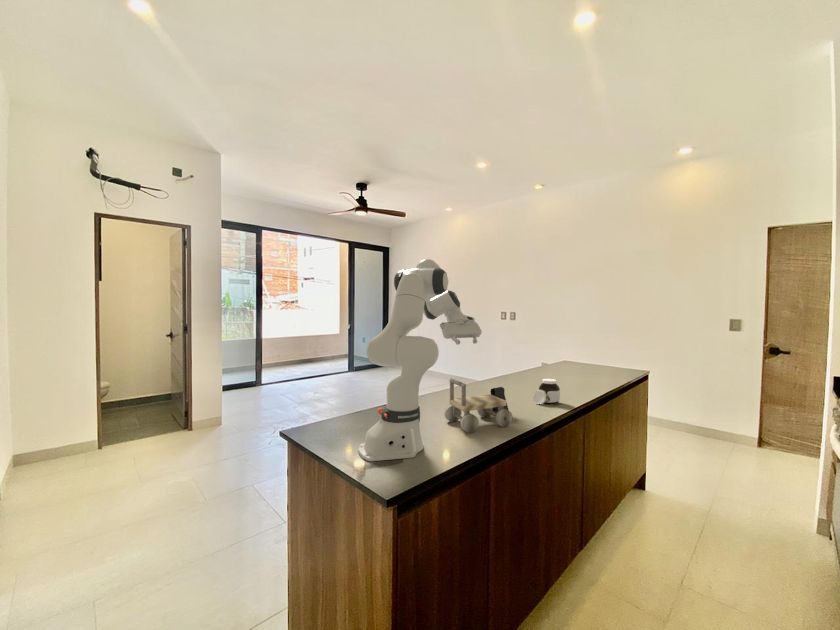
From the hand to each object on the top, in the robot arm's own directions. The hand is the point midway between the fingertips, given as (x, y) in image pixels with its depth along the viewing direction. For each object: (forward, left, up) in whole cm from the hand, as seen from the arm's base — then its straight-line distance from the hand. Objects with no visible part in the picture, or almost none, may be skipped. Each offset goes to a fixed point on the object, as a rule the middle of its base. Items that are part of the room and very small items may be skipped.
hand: (467, 343), depth 172 cm
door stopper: (+7, -14, -31) cm, 35 cm away
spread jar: (+40, -9, -32) cm, 52 cm away
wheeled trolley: (-8, -22, -31) cm, 39 cm away
